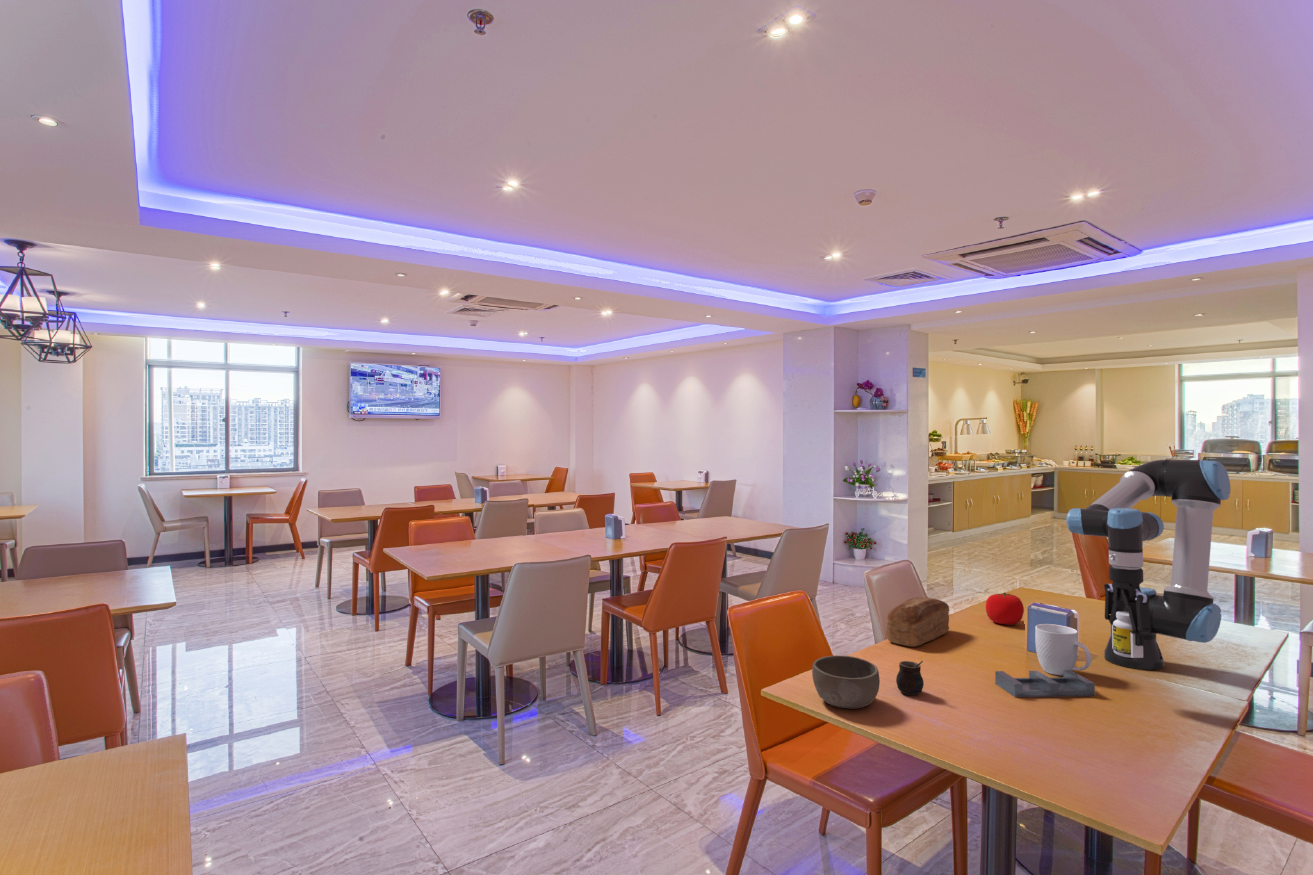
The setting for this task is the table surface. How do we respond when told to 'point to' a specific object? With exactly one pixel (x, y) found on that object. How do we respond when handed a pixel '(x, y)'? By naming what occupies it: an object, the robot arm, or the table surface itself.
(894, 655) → the table surface
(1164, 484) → the robot arm
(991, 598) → the tomato
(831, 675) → the bowl
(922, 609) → the bread
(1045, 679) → the gray divided tray
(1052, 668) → the mug
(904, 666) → the mate gourd
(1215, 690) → the table surface
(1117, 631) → the pill bottle
